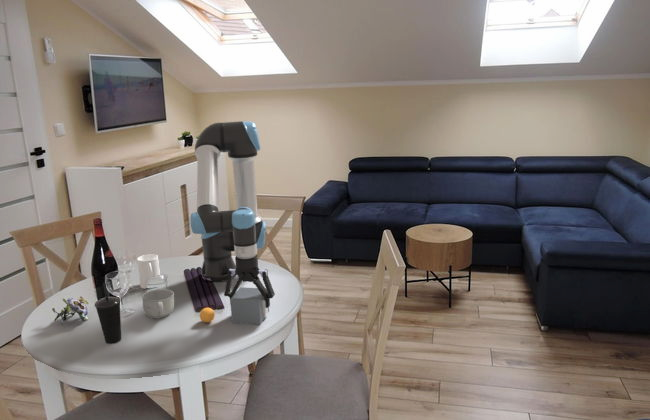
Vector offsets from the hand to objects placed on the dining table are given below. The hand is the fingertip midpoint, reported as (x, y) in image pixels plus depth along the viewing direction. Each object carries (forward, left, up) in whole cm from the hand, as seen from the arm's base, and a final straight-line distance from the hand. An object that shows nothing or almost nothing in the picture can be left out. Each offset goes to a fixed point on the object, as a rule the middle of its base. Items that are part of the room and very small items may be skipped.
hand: (250, 314), depth 179 cm
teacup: (+3, -33, -1) cm, 33 cm away
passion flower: (+11, -62, -1) cm, 63 cm away
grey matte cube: (0, 0, -1) cm, 1 cm away
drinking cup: (+21, -40, -1) cm, 45 cm away
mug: (-22, -50, -1) cm, 55 cm away
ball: (+5, -14, +2) cm, 15 cm away
